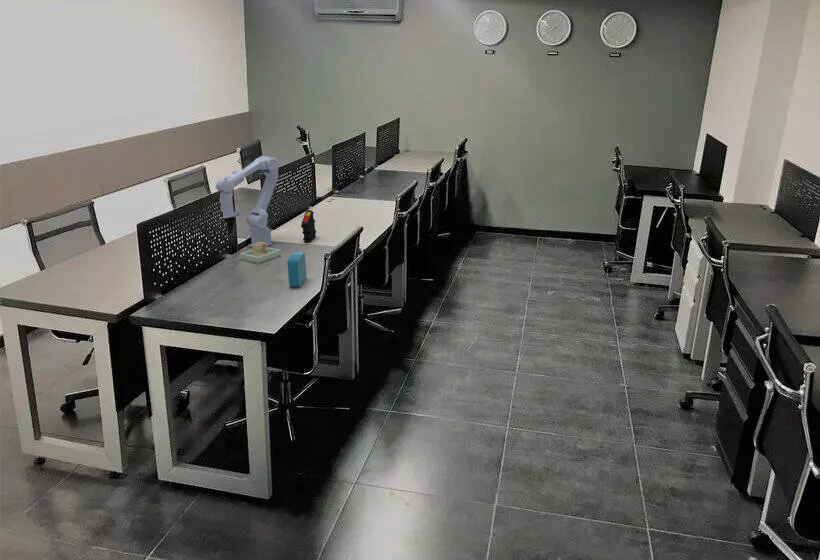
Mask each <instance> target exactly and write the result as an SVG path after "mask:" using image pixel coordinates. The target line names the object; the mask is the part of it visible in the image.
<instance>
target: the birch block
mask: <svg viewBox="0 0 820 560" xmlns="http://www.w3.org/2000/svg"><path fill="white" fill-rule="evenodd" d="M267 247H268V246H267V243H262V242H256V243H255V244H253V245H252V247H251V250H252V253H253V256H257V257H260V256H262V255H265V254H268V252H267Z"/></svg>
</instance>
